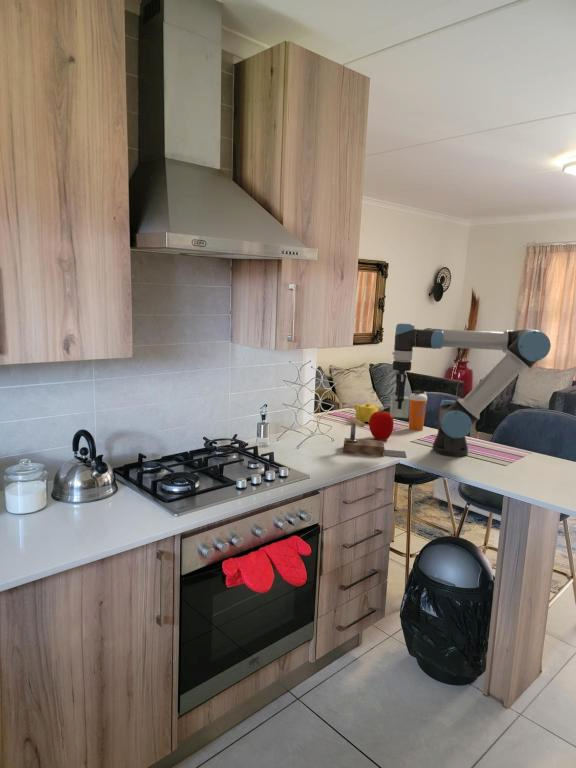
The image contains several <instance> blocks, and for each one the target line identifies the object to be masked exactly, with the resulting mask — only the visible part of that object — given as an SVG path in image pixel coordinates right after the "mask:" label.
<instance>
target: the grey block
mask: <svg viewBox="0 0 576 768" xmlns="http://www.w3.org/2000/svg"><path fill="white" fill-rule="evenodd" d="M399 398H401V397H399ZM395 399H397V396H395V394H393V395H392V394H391V396H390V405H389V406H390V408H389V413H390V415H391V417H393V418H399V419H409V412H410V396H406V395H404V401H403V411H402V417H397V416H395V414H396V401H395Z"/></svg>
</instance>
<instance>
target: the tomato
mask: <svg viewBox="0 0 576 768" xmlns="http://www.w3.org/2000/svg"><path fill="white" fill-rule="evenodd" d="M368 429H369V431H370V433H371V435H372V436H373V438H374V439H375V440H376V441H386V440H388V439H389V438H390V437H391V436H392V433H393V430H394V417H391V415H390V411H387V410H386V411H385V409H383V410H381V411H378V412H375V413H373V414H372V416H371V418H370V421H369V423H368Z"/></svg>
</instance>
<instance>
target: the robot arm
mask: <svg viewBox="0 0 576 768" xmlns="http://www.w3.org/2000/svg"><path fill="white" fill-rule="evenodd" d="M394 333H395V334H394V348H393V349H394V351H392V355H393V362H392V370H394V371H397V373H396V375H395V379H396V380H395V383H396V386H395V392H394V395H395V396H397V399H395V401H396V414H395V416H397V417H396V418H399V417H402V411H403V401H404V396H405V387H406V380H407V375H406V374H405V373H406V372H410V371H411V370H412V362H411V361H412V360H413V348H422V349H433V350H436V349H437V350H438V349H439V350H440V349H442V348H443V347H445V348H455V349H457V348H459V349H473V350H475V349H476V350H493V351H502V352H503V353H504V354H505V356H504V357H503V358H502V359H500V361H499V362H498V363H497V364H495V365H494V367H493V368H492V369H491V370H490V371H489V372H488V373H487V374H486V375H485V376H484V377H483V378H482V379H481V380H480V381H479V382H478V383H477V384H476V385H474V387H473V388H472V389H471V390H470V392H468V393H467V394H466V395H465V397H463V398H458V399H456V400H452V399H450V400H449V399H442V400H441V401H440V404H439V416H438V428H437V434H436V437H435V438H434V441H433V443H432V448H431V450H432V451H433V452H434V453H436V454H439V455H443V456H449V457H464V456H467V455H469V454H468V453H469V447H468V442H467V438H466V436H468V434H469V433H470V432H471V429H472V428H473V425H475V424H476V423H477V422H478V420H480V413H481V412H482V411H483V410H484V409H485V408H487V406H489V404H490V403H492V401H493V400H494V399H495V398H497V396H499V394H500V393H501V392H503V390H504V389H505V388H506V387H508V385H509V384H510V383H511V382H512V381H514V379H515V378H516V377H518V375H519V374H520V373H521V372H522V371H524V370H530V369H531V368H532V367H533V366H534V365H535V364H536V363H537V362H538V361H541V360H543V359H545V358H546V357H547V356H548V355H549V353H550V351H551V340H550V339H549V336H548V335H547V334H546V333H544V332H543V331H541V330H540V329H532V328H524V329H522V328H521V329H506V330H503V331H485V330H484V331H483V330H467V329H466V330H464V329H444V328H443V329H442V328H441V329H440V328H431V327H428V328H424V329H418V328H416V327H415V324H414V323H398V324H396V326H395V332H394ZM399 397H401V398H399Z"/></svg>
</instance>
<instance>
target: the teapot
mask: <svg viewBox="0 0 576 768" xmlns="http://www.w3.org/2000/svg"><path fill="white" fill-rule="evenodd" d="M382 409H384V407H379V408H377V405H376V404H371V403H368V402H367V403H365V404H361V405H359V404H355V405H354V410H355V417H354V418H356V419H358V420H360V421H361V422H363V423H365V422H368V423H367V424H369V421H370V418H371V416H372V414H373V413H375V412H378V411H382Z"/></svg>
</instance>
